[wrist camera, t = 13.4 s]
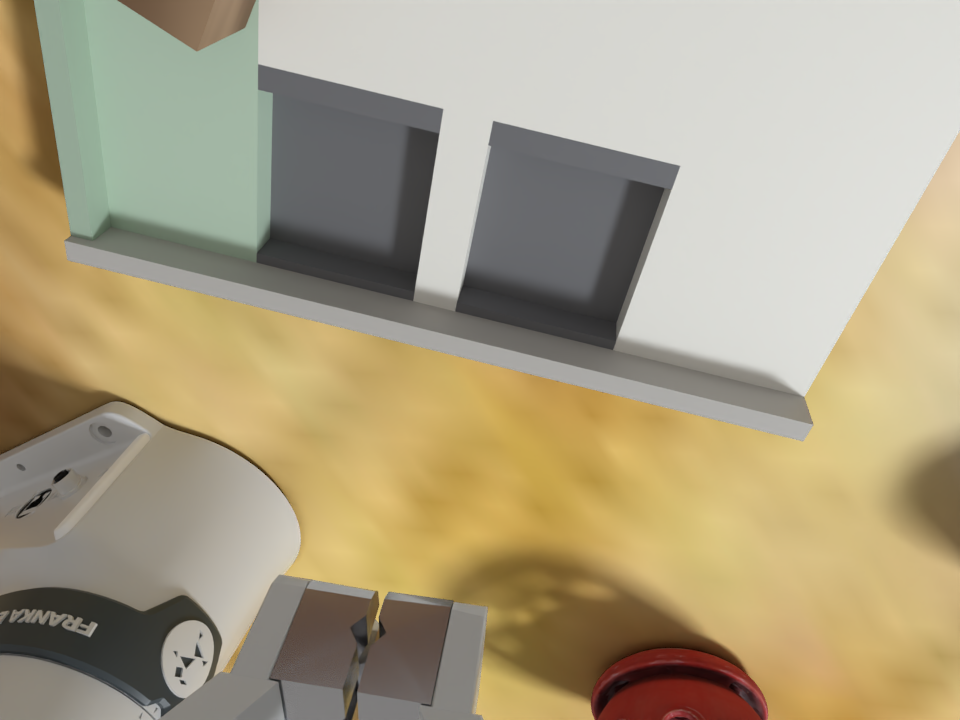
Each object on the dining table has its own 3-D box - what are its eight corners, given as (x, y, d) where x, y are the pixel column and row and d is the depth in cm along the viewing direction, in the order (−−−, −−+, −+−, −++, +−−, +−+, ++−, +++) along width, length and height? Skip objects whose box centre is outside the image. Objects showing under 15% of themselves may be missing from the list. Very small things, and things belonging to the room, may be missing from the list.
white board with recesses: (1047, -78, 24) (1113, -66, 21) (786, 387, 36) (803, 441, 33) (54, -311, 25) (-31, -334, 22) (116, 223, 37) (67, 260, 33)
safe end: (284, -257, 25) (240, -270, 22) (272, 261, 36) (243, 296, 34) (54, -311, 25) (-19, -331, 22) (116, 223, 37) (74, 255, 34)
